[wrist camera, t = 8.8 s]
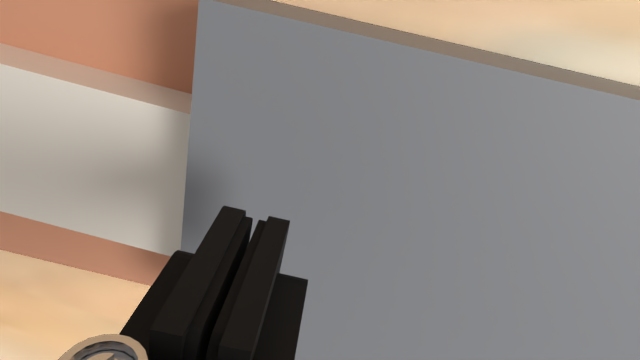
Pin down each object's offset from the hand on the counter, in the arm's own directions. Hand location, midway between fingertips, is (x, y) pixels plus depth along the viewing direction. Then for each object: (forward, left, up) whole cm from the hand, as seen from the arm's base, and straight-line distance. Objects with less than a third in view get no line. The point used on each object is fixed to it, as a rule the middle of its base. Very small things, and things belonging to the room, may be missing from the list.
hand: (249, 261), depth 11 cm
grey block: (+5, 0, -7) cm, 9 cm away
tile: (-8, -1, -7) cm, 10 cm away
